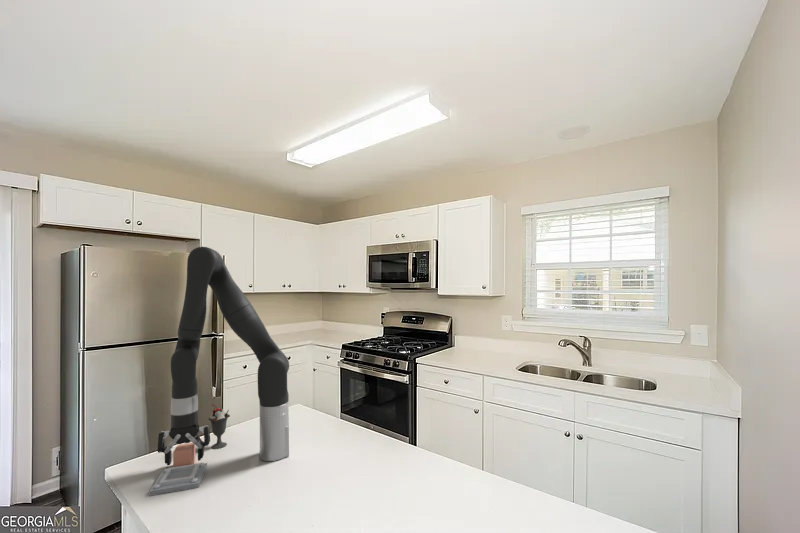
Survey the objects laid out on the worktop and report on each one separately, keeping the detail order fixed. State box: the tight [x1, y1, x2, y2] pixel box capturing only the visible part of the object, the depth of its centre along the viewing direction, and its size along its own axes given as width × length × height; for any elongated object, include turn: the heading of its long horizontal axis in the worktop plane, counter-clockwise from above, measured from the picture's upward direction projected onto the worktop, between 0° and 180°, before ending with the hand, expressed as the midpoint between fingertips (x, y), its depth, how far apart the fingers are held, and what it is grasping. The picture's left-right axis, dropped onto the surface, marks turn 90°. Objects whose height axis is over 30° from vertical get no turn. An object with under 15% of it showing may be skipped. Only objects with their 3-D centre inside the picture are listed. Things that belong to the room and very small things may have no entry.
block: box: [172, 442, 196, 467], centre depth 115 cm, size 5×5×6 cm
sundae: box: [208, 403, 231, 450], centre depth 129 cm, size 7×7×15 cm
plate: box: [149, 462, 208, 496], centre depth 107 cm, size 12×12×2 cm
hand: (184, 461), depth 115 cm, fingers open, 8 cm apart
